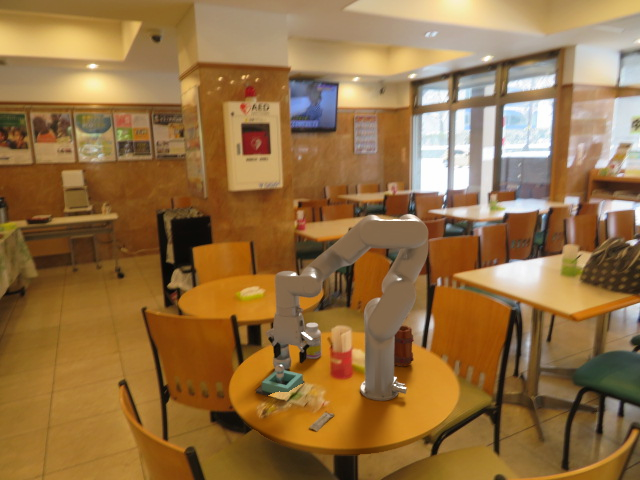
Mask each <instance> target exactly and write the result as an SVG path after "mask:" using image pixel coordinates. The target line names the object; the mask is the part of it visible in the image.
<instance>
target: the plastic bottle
mask: <svg viewBox="0 0 640 480" xmlns="http://www.w3.org/2000/svg"><path fill="white" fill-rule="evenodd" d="M271 329H273V327H272V328H271ZM272 336H273V333H272ZM280 346H281V355H279V356H278V357H277V358H274V357H273V359H272V364H273V367H274V368H275V367H276V366H277V365H279V364H281V365H283V366H284V370H286V371H289V369H290V368H291V366H292V357H291V354H290V348H289V347H290V346H289V344H284V343H280Z"/></svg>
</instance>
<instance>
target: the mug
mask: <svg viewBox="0 0 640 480" xmlns="http://www.w3.org/2000/svg"><path fill="white" fill-rule="evenodd" d="M412 330H413V329H412V328H411V326H408V325H404V324H402V325H401V327H400V329H399V330H398V332H397V333H396V334H395V335H394V336H395V348H394V366H397V367H408V366H411V364H412V363H413V361H414V360H415V359H414V352H413V342H414V335H413V334H412Z"/></svg>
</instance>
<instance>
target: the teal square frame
mask: <svg viewBox="0 0 640 480" xmlns="http://www.w3.org/2000/svg"><path fill="white" fill-rule="evenodd" d="M303 375H304V374H302V373H298V372H294V371H289V370H284V381H287V382H289V383H288V384H287V385H283V384H279V383H276V382H277V380H276V372H275V370H274V371H273V372H272V373H270V375H269V376H267V377H266V378H265V379H263V380H262V381H261V385H262V390H263V391H266V392H270V393H275V392H279V391H280V392H289V391H290V390H292V389H293V388H295V387H297V386H298V385H300V384H302V383H303V381H304V376H303Z"/></svg>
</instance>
